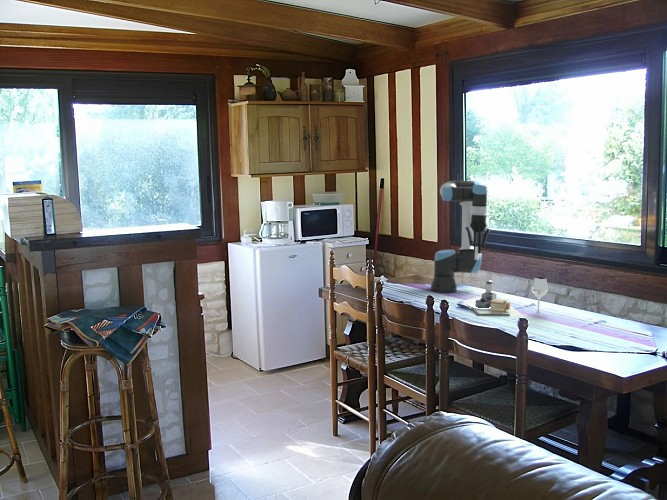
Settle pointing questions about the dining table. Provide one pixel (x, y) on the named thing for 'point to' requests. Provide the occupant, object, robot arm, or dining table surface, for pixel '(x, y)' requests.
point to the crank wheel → (488, 301)
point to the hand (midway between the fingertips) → (476, 259)
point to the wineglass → (539, 288)
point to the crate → (498, 306)
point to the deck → (508, 313)
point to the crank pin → (489, 287)
